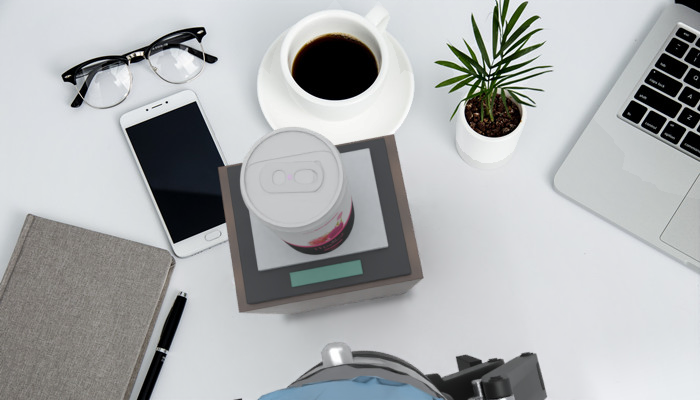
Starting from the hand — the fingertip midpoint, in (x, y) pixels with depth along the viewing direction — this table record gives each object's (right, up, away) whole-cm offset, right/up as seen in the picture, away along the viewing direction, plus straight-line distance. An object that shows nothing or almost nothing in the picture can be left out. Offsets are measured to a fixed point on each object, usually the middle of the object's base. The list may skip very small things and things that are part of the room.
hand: (369, 394), depth 43 cm
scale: (-4, +12, +11) cm, 16 cm away
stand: (-3, +6, +42) cm, 42 cm away
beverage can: (-4, +12, +9) cm, 16 cm away
